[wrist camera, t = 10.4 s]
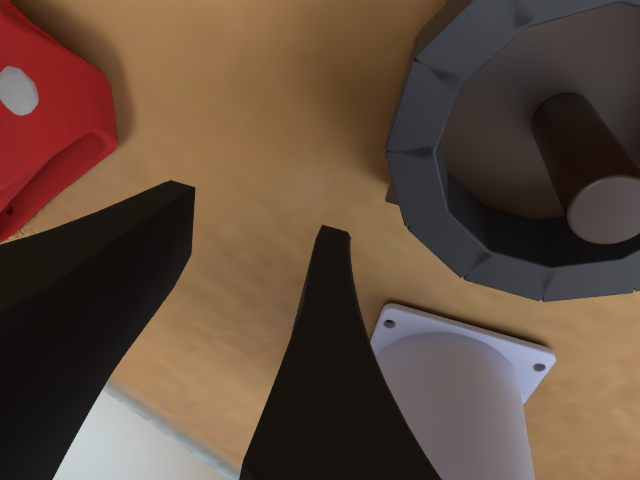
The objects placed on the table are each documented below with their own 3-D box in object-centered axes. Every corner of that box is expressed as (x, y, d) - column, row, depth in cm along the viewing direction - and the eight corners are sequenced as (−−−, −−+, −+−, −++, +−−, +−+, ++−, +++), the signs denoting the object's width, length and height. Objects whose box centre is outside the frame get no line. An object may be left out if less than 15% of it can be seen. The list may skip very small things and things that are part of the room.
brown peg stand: (614, 249, 19) (684, 391, 13) (387, 186, 19) (366, 299, 14) (795, -5, 13) (1037, 60, 8) (474, -83, 14) (496, -73, 8)
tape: (626, 280, 18) (652, 334, 16) (364, 207, 18) (353, 249, 16) (856, -17, 12) (952, 2, 10) (461, -114, 12) (465, -117, 10)
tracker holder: (-187, -36, 17) (-13, -58, 13) (-53, -21, 21) (115, -34, 17) (-87, 272, 22) (67, 326, 18) (10, 240, 26) (155, 278, 21)
